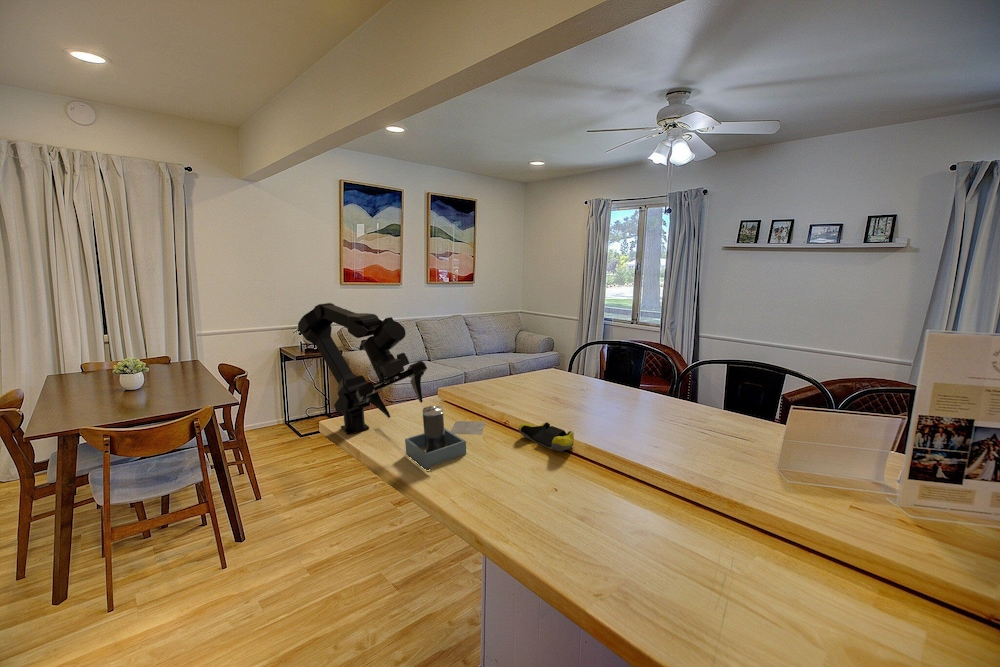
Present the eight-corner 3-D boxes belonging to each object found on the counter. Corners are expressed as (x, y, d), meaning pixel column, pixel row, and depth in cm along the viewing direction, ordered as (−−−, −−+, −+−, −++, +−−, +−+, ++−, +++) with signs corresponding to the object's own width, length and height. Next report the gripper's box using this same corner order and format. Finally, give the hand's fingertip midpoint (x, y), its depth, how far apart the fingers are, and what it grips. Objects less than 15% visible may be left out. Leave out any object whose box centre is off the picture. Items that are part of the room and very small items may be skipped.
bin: (406, 454, 113) (404, 438, 112) (444, 442, 119) (443, 427, 119) (426, 471, 104) (425, 454, 103) (466, 457, 111) (465, 441, 110)
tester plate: (449, 436, 123) (449, 433, 123) (456, 424, 132) (455, 421, 131) (481, 437, 122) (481, 434, 122) (485, 424, 131) (485, 421, 131)
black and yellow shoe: (558, 462, 108) (583, 448, 114) (558, 441, 106) (583, 428, 113) (515, 443, 118) (540, 432, 125) (514, 423, 117) (540, 413, 124)
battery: (426, 450, 114) (422, 404, 111) (445, 448, 114) (442, 402, 112) (425, 459, 109) (421, 411, 106) (445, 457, 109) (442, 409, 107)
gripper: (348, 361, 106) (375, 420, 103) (418, 334, 115) (444, 387, 112) (345, 374, 115) (370, 427, 113) (410, 348, 124) (434, 397, 122)
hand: (405, 409), depth 115 cm, fingers open, 9 cm apart
